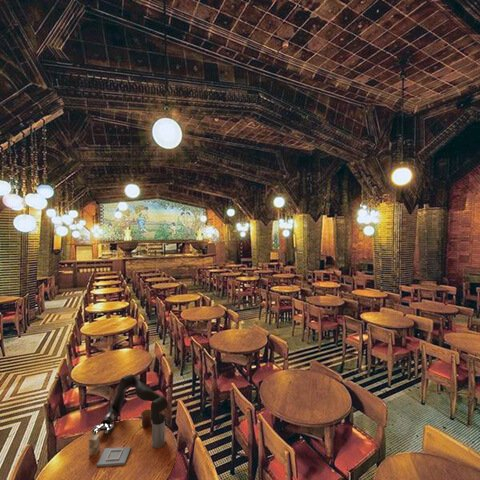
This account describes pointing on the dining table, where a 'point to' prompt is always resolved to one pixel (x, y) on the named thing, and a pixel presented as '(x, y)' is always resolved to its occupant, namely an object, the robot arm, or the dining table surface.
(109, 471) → the dining table surface
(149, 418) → the mug
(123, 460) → the board
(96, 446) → the pillar
